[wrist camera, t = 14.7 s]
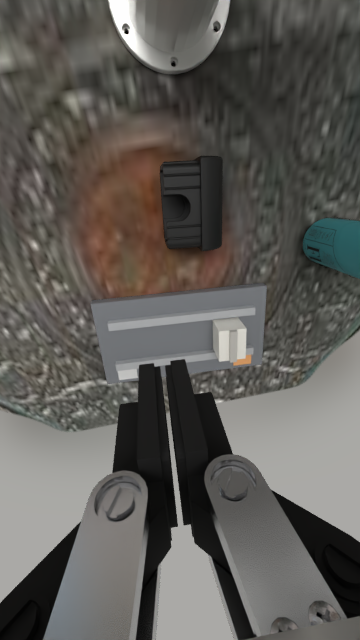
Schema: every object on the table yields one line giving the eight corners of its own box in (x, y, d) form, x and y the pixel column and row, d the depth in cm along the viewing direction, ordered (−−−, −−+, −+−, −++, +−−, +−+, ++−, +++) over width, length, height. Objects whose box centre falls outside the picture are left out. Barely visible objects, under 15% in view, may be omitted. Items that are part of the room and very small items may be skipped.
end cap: (214, 241, 40) (227, 249, 34) (164, 244, 40) (169, 254, 33) (214, 161, 36) (229, 154, 30) (159, 163, 35) (162, 157, 29)
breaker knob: (212, 320, 43) (220, 333, 39) (237, 317, 43) (248, 330, 39) (213, 348, 45) (220, 363, 41) (237, 345, 46) (246, 360, 41)
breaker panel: (92, 300, 41) (89, 306, 39) (262, 282, 44) (269, 287, 41) (108, 378, 47) (106, 387, 45) (258, 359, 49) (264, 367, 47)
